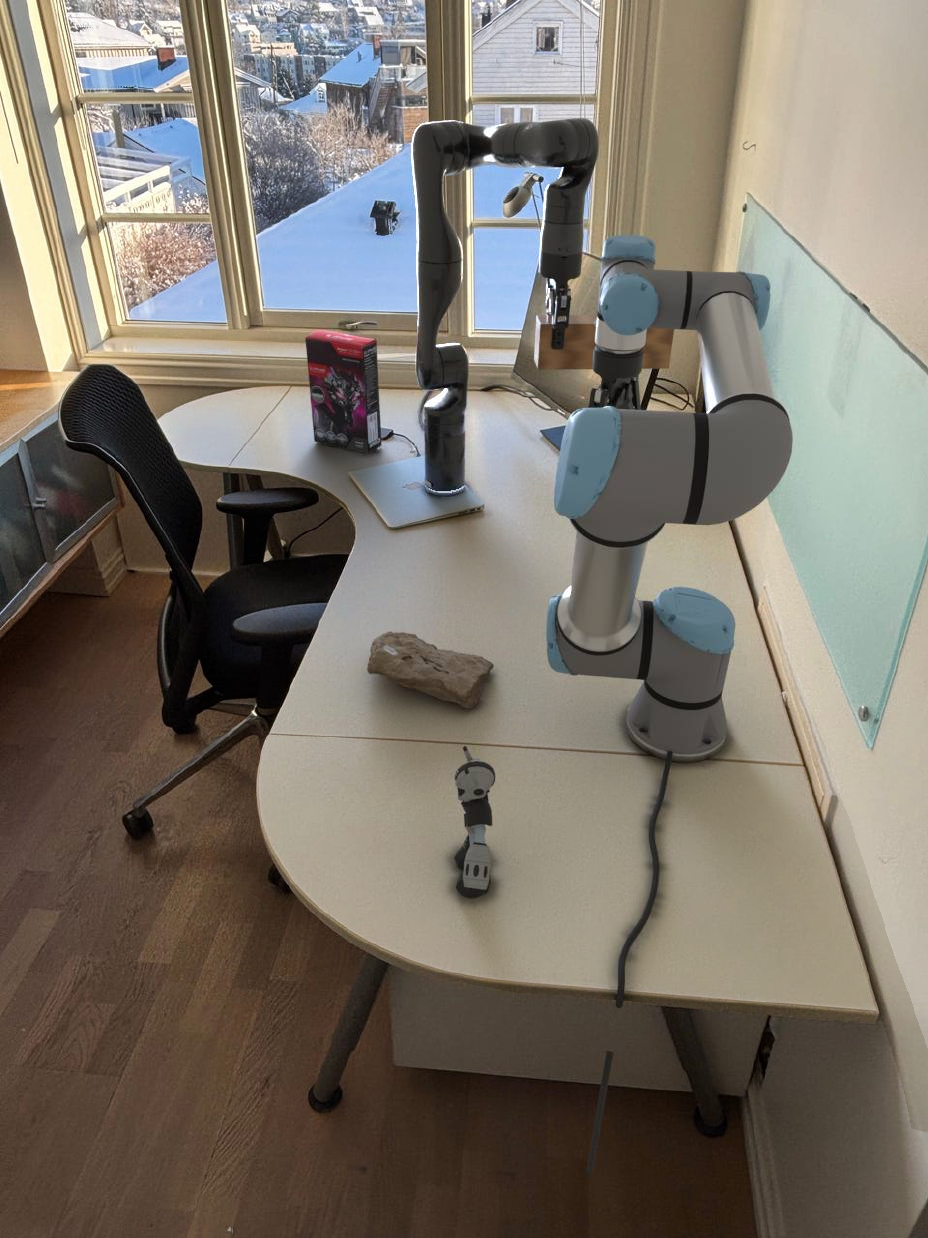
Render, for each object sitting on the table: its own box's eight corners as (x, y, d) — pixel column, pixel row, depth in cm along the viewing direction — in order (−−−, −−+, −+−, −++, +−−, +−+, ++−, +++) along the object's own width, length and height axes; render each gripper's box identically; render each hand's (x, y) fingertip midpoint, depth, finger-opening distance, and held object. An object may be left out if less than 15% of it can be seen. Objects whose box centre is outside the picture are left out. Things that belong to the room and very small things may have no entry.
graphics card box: (312, 442, 234) (302, 335, 219) (327, 433, 240) (319, 327, 224) (368, 456, 228) (362, 346, 213) (383, 446, 233) (379, 338, 218)
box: (661, 358, 177) (667, 313, 172) (668, 368, 172) (675, 323, 167) (533, 359, 175) (536, 314, 171) (537, 369, 171) (540, 324, 166)
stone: (342, 681, 147) (349, 648, 145) (376, 648, 161) (382, 617, 158) (465, 726, 144) (475, 692, 141) (489, 688, 157) (498, 657, 155)
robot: (497, 935, 111) (502, 818, 100) (457, 937, 111) (458, 819, 100) (486, 816, 127) (489, 703, 116) (451, 817, 127) (451, 704, 116)
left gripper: (535, 238, 167) (530, 331, 177) (545, 257, 155) (539, 356, 165) (576, 238, 168) (569, 331, 177) (589, 257, 156) (581, 355, 165)
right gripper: (627, 322, 149) (614, 444, 161) (561, 365, 131) (551, 499, 143) (671, 329, 146) (654, 453, 158) (609, 374, 128) (596, 511, 140)
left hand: (554, 342), depth 171 cm, fingers closed on box, 5 cm apart
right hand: (605, 475), depth 151 cm, fingers open, 13 cm apart
